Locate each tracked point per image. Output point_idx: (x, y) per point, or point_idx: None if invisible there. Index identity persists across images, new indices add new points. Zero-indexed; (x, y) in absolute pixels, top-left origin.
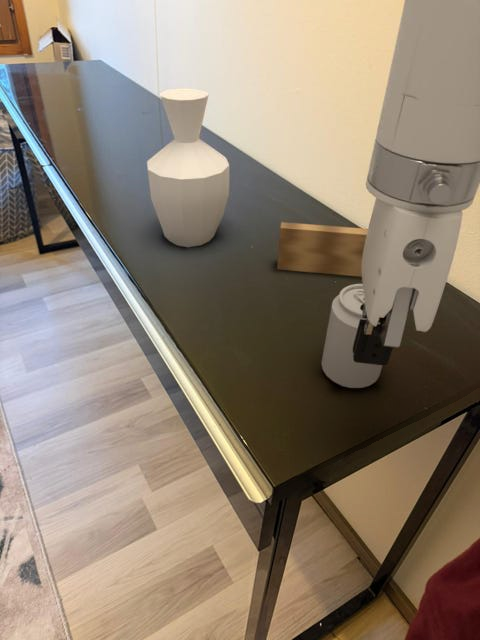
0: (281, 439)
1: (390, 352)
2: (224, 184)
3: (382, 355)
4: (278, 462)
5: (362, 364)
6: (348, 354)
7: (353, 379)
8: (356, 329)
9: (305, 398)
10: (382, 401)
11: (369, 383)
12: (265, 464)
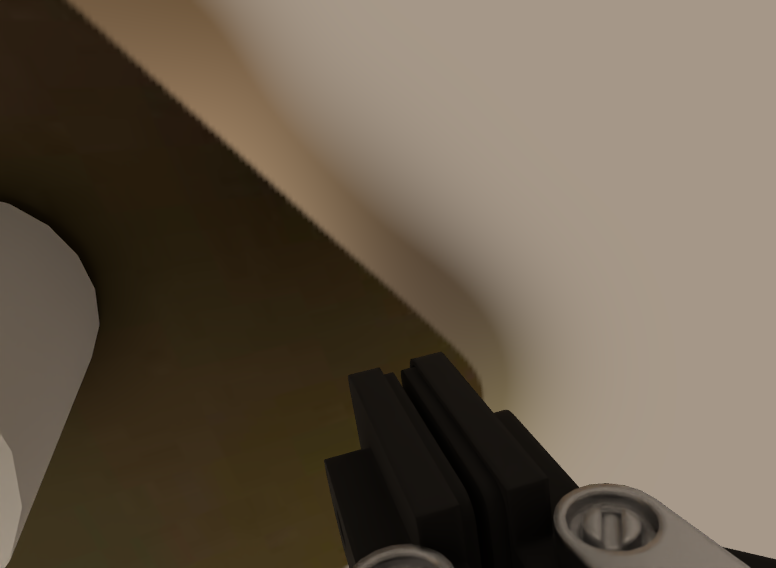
0: None
1: (472, 393)
2: None
3: (528, 435)
4: None
5: (58, 318)
6: (65, 405)
7: (86, 305)
8: (22, 491)
9: (196, 412)
10: (89, 157)
11: (48, 231)
12: None
